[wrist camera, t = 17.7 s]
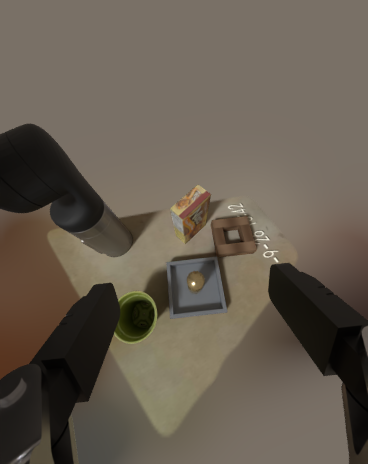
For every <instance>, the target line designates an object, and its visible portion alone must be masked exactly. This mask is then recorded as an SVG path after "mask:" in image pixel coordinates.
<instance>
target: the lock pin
mask: <svg viewBox="0 0 368 464" xmlns="http://www.w3.org/2000/svg"><path fill="white" fill-rule="evenodd" d="M204 282H205V279H204V276H203V274H202V273H200V272H198V271H193V272H191V273H189V274H188V276H187V285H188V289H189V291H190V292H191V293H192V294H198V293H200V291H201V289H202V287H203V285H204Z"/></svg>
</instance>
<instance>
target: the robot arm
mask: <svg viewBox="0 0 368 464" xmlns="http://www.w3.org/2000/svg"><path fill="white" fill-rule="evenodd" d="M51 202H52V204H51V208H50V215H51V218H52V220H53V221H54V223H55V224H56V225H58V226H59V227H60V228H62V229H64V230H66V231H67V232H69V233H71V234H72V235H74V236H76V237H77V238H79V239H81V242H82V243H83V244H85V245H87V246H89V247H90V248H92V249H94V250H95V251H97V252H99V253H101V254H102V253H104V254H106V255H107V256H110V257H118V256H121V255H123V254H125V253H126V252H127V251H128V250H129V249H130V247H131V245H132V235H131V233H130V232H129V230H128V229H127V228H126V227H125V226H124V224H123V223H122V222H121V221H120V220H119V219H118V217H117V216H116V215H115V214H114V213H113V212H112V210H111V209H110V208H109V207H108V206H107V205H106V204H105V202H104V201H103V200H102V199H101V198H100V196H99V195H98V194H97V193H96V192H95V190H94V189H93V188H92V187H91V186H90V185H89V184H88V182H87V181H86V180H85V179H84V177H83V176H82V175H81V173H80V172H79V171H78V170H77V168H76V167H75V165H74V164H73V163H72V161H71V160H70V159H69V157H68V156H67V154H66V153H65V152H64V151H63V149H62V148H61V147H60V146H59V145H58V143H57V142H56V141H55V140H54V139H53V138H52V137H51V136H50V135H49V134H48V133H47V132H46V131H45V130H43V129H42V128H40V127H39V126H36V125H34V124H25V125H22V126H19V127H16V128H14V129H12V130H9V131H7V132H5V133H2V134H0V209H3V210H6V211H10V212H15V213H29V212H32V211H35V210H38V209H40V208H42V207H44V206H46V205H48V204H49V203H51ZM268 292H269V297H270V299H271V301H272V303H273V304H274V306H275V307H276V309H277V310H278V312H279V313H280V314H281V316H282V317H283V319H284V320H285V321H286V323H287V324H288V326H289V327H290V328H291V330H292V331H293V333H294V334H295V336H296V337H297V339H298V340H299V341H300V343H301V344H302V346H303V347H304V349H305V350H306V351H307V353H308V354H309V356H310V357H311V359H312V360H313V361H314V363H315V364H316V365H317V367H318V369H319V370H320V371H321V372H322V374H323V376H328V375H338V377H339V378H340V379H341V380H342V382H343V383H342V386H341V390H342V399H343V408H344V416H345V425H346V434H347V442H348V451H349V464H368V320H366V319H365V318H364V317H363V316H361V315H360V314H359V313H358V312H357V311H355V310H354V309H353V308H352V307H350V306H349V305H347V303H345V302H344V301H343V300H342V299H340V298H339V297H338V296H337V295H334V294H333V292H332V291H330V290H329V289H328V288H325V286H324V285H323V284H322V283H321V282H319V281H318V280H317V279H316V278H314V277H312V276H310V275H308V274H305V273H303V272H299V271H298V270H297V269H296V268H295V267H294V266H292V265H291V264H290V263H282V264H274V265H271V267H270V276H269V288H268ZM119 319H120V305H119V302H118V299H117V295H116V292H115V289H114V286H113V284H112V283H104V284H96V285H94V286H93V287H92V288H91V290H90V291H89V293H88V294H87V296H83V297H82V298H81V299H80V300H79V301H78V302H76V303H75V304H74V305H73V306H72V307H71V309H70V310H69V311H68V313H67V314H66V317H64V318H63V320H62V321H61V322H60V324H59V326H57V327H56V329H55V330H54V331H53V333H52V334H51V335H50V337H49V338H48V340H47V341H46V342H45V344H44V345H43V346H42V347H41V349H40V350H39V351H38V353H37V354H36V355H35V357H34V358H33V359H32V361H31V362H30V363H29V364H28V365H24V366H22V367H19V368H17V369H15V370H13V371H12V372H10V373H9V374H7V375H6V376H4V377H3V378H2V379H1V380H0V464H79V463H78V456H77V449H76V441H75V434H74V427H73V420H72V416H71V412H72V410H73V408H74V406H75V403H78V402H88V401H89V398H90V396H91V393H92V390H93V388H94V385H95V382H96V380H97V377H98V374H99V372H100V369H101V366H102V364H103V361H104V359H105V356H106V353H107V351H108V348H109V345H110V343H111V340H112V337H113V335H114V332H115V329H116V327H117V324H118V321H119Z"/></svg>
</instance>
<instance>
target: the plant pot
mask: <svg viewBox="0 0 368 464" xmlns="http://www.w3.org/2000/svg"><path fill="white" fill-rule="evenodd" d="M118 302H119V305H120V319H119V321H118V324H117V327H116V329H115V332H114V335H115V336H116V337H117V338H118V339H119V340H120V341H122V342H124V343H128V344H135V343H139V342H141V341H143V340H144V339H146V338H147V337H148V336H149V335H150V334H151V333H152V331H153V329H154V328H155V325H156V322H157V308H156V304H155V302H154V300H153V299H152V298H151V297H150V296H149V295H148V294H146V293H144V292H141V291H132V292H129V293H127V294H125V295H123V296H122V297H121V298H120V299H119V300H118ZM143 303H148V305H146V304H143ZM135 311H136V314H135V316H134V312H135ZM153 312H155V315H154V318H153ZM143 313H145V315H143ZM140 324H146V325H145V326H141V325H140Z"/></svg>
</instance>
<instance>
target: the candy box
mask: <svg viewBox="0 0 368 464" xmlns="http://www.w3.org/2000/svg"><path fill="white" fill-rule="evenodd" d="M210 196H211V194H210V193H208V192H207V191H206V190H204V189H203V188H202V187H201V186H199V185H197V186H196V187H195V188H193V189H192V190H191V191H190V192H189V193H188V194H186V195H185V196H184V197H183V198H182V199H181V200H180V201H178V202H177V203H176V204H175V205H174V206H173V207H172V208H170V210H171V215H172V219H173V224H174V228H175V233H176V236H177V237H178V238H179V239H180V240H181V241H183V242H184V243H185V244H186V243H187V242H188V241H189V240H190V239H191V238H192V237H193V236H194V235H195V234H196V233H197V232H198V231H199V230H201V229H202V228H203V227H204V226H205V225H206V219H207V213H208V208H209V202H210Z"/></svg>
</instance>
